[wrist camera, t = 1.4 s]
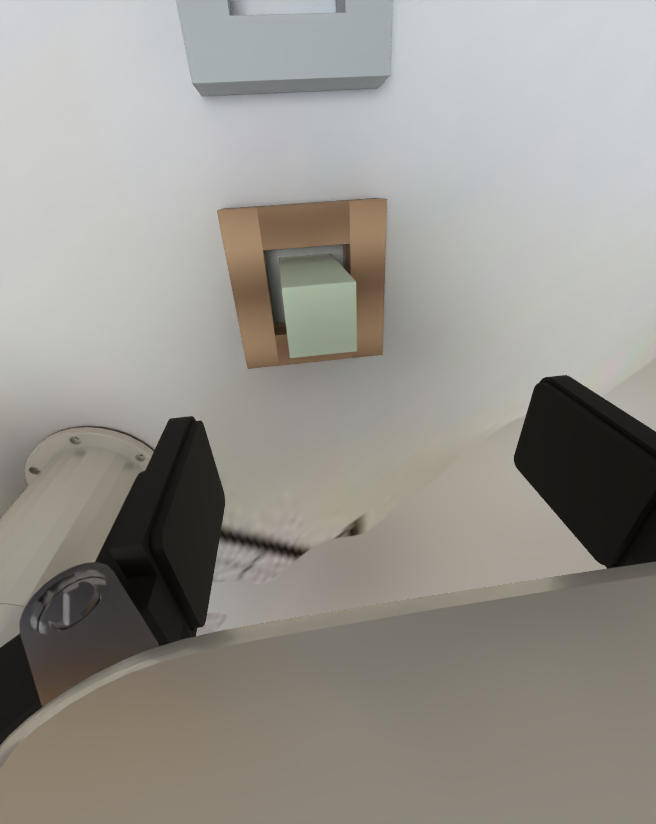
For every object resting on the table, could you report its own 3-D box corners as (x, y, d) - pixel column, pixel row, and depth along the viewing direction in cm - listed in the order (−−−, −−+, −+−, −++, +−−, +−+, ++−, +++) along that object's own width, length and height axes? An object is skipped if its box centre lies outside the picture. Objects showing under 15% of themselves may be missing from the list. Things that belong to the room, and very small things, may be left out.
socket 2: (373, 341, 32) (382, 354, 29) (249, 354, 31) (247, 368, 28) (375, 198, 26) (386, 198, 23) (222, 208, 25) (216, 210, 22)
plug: (333, 305, 29) (357, 351, 21) (285, 310, 29) (289, 358, 21) (330, 254, 27) (356, 281, 19) (279, 258, 27) (281, 288, 19)
